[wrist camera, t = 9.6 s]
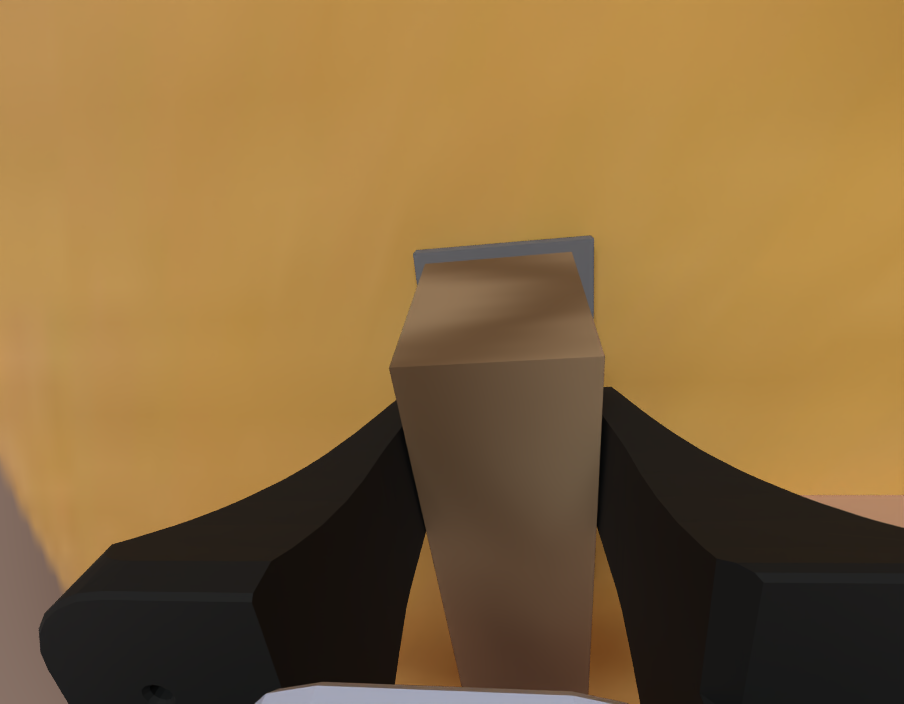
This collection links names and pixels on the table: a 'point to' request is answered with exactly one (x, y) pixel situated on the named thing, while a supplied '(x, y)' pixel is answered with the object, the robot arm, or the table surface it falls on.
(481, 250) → the mat
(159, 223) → the table surface
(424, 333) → the brown wooden plank
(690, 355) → the table surface
